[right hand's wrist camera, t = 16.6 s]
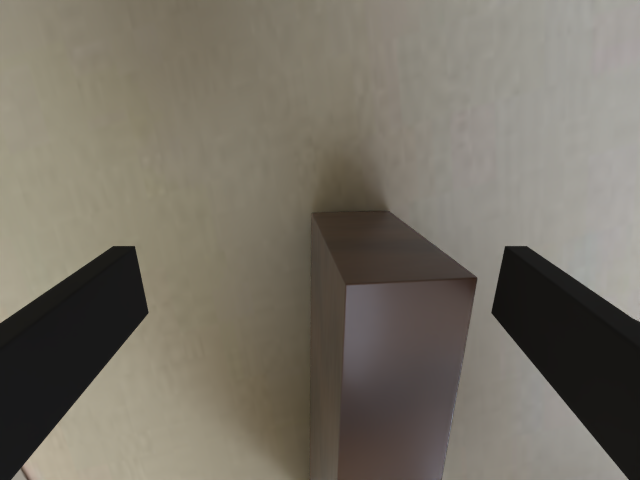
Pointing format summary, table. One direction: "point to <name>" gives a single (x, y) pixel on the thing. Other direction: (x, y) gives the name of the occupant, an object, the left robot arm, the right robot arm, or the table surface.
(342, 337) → the plank
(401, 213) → the table surface
